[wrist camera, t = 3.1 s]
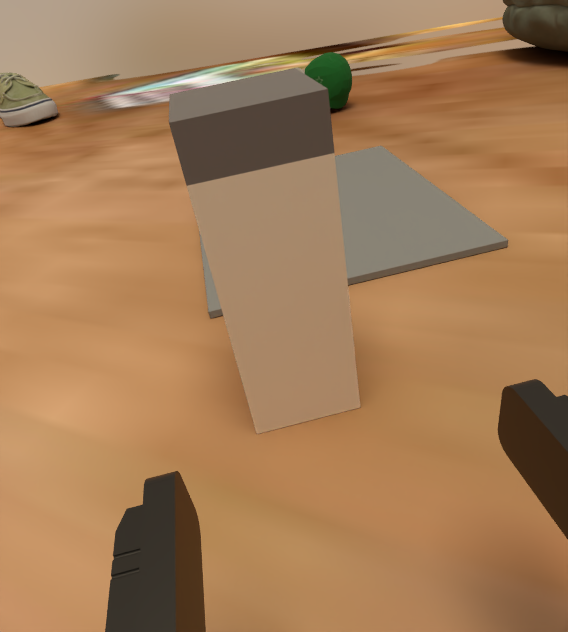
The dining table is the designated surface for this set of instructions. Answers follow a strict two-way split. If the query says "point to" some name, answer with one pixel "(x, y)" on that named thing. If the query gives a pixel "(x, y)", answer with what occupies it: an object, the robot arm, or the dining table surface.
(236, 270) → the cream block
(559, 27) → the pillow
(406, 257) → the slate mat
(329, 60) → the toy
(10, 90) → the boat shoe
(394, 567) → the dining table surface
